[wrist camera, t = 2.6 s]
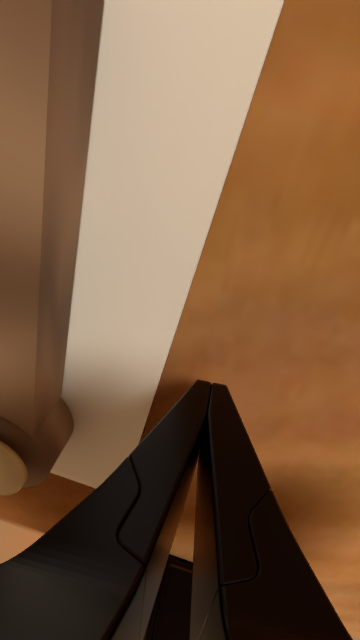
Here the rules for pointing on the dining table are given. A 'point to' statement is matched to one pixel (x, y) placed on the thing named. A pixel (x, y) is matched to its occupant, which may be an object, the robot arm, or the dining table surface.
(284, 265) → the dining table surface
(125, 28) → the pivot plate
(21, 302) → the link
